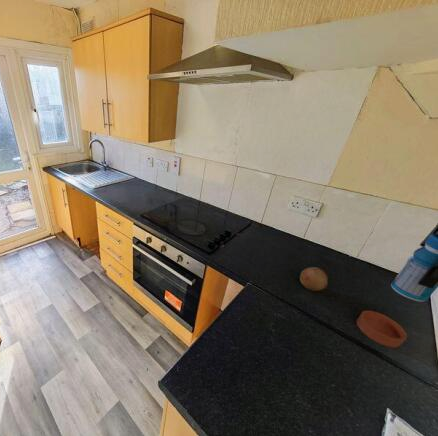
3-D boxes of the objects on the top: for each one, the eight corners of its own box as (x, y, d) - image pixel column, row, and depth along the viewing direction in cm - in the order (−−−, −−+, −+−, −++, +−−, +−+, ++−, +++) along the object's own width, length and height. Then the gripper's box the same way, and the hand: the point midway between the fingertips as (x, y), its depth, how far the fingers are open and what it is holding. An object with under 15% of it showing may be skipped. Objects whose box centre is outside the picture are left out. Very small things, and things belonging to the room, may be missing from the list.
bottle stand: (395, 328, 82) (401, 321, 80) (405, 354, 73) (412, 347, 71) (354, 312, 87) (359, 305, 86) (358, 334, 78) (364, 327, 77)
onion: (316, 299, 92) (327, 280, 88) (292, 284, 100) (300, 266, 95) (326, 290, 97) (336, 272, 93) (302, 277, 105) (310, 259, 100)
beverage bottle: (393, 294, 70) (433, 240, 61) (386, 279, 77) (422, 228, 68) (431, 307, 66) (480, 251, 57) (421, 290, 73) (464, 237, 64)
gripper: (435, 195, 68) (394, 256, 79) (471, 219, 52) (413, 292, 63) (472, 202, 65) (424, 265, 75) (523, 230, 49) (453, 305, 59)
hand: (419, 277), depth 69 cm, fingers closed on beverage bottle, 8 cm apart
